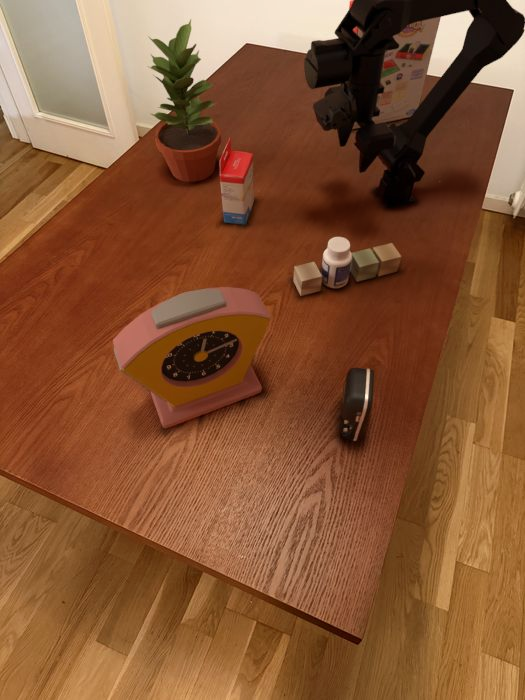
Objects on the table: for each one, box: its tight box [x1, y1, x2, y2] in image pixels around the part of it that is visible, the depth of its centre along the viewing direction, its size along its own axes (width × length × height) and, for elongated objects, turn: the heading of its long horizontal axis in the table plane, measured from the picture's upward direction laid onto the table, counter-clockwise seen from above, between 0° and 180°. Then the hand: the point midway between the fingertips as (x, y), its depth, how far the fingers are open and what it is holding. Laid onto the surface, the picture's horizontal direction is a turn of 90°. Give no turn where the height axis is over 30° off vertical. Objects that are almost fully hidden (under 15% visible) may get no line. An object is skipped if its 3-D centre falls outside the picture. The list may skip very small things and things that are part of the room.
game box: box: [348, 0, 442, 130], centre depth 118 cm, size 21×6×27 cm, turn 108°
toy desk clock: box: [112, 286, 272, 429], centre depth 73 cm, size 22×9×22 cm, turn 114°
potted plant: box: [147, 19, 222, 183], centre depth 105 cm, size 15×15×30 cm
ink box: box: [219, 137, 255, 226], centre depth 102 cm, size 8×5×15 cm, turn 168°
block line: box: [292, 242, 402, 297], centre depth 95 cm, size 20×4×4 cm, turn 108°
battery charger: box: [340, 367, 375, 442], centre depth 74 cm, size 7×4×11 cm, turn 170°
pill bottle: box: [320, 236, 352, 289], centre depth 92 cm, size 5×5×9 cm
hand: (352, 158), depth 99 cm, fingers open, 9 cm apart
